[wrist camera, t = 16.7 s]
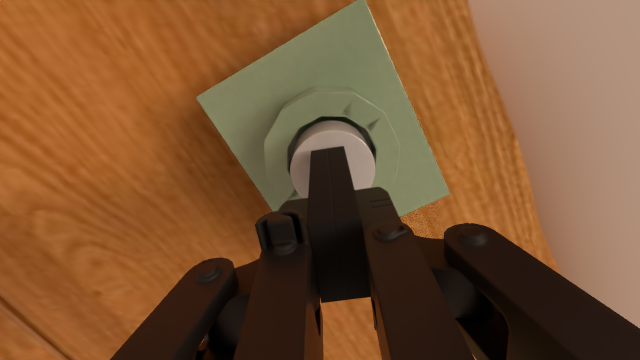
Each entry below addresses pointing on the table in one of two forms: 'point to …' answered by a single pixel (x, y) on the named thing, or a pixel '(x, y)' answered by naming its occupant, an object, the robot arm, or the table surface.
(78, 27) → the table surface
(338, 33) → the green button box
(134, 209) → the table surface
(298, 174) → the button
